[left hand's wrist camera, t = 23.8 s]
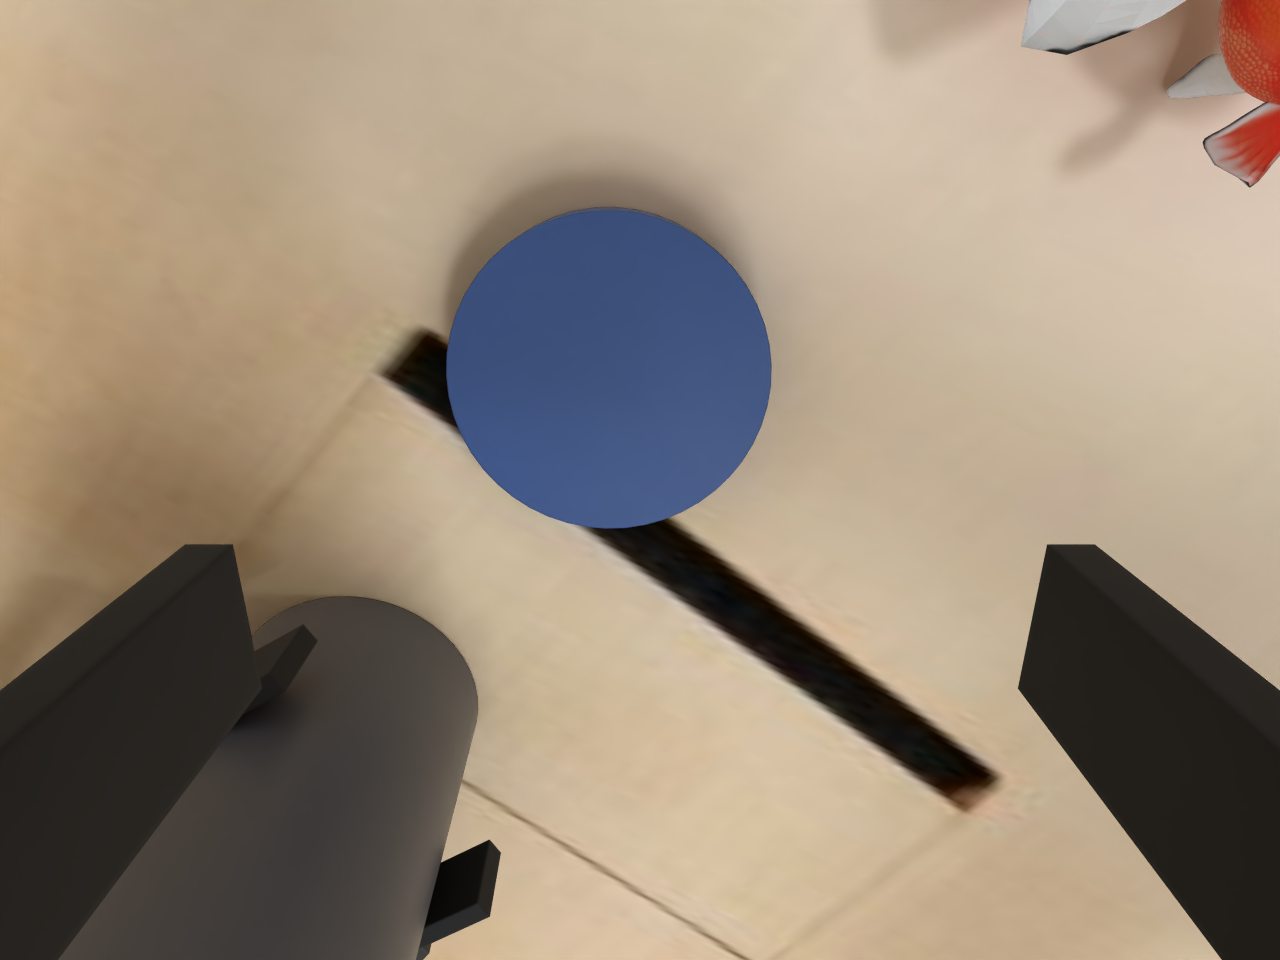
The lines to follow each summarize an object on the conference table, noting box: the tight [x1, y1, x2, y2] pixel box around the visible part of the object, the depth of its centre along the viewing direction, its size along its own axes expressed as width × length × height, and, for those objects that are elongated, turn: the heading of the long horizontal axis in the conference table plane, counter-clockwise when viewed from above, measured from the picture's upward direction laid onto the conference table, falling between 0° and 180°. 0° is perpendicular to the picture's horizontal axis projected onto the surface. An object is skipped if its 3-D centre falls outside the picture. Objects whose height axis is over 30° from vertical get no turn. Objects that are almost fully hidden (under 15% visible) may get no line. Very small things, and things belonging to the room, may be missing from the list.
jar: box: [58, 597, 478, 960], centre depth 24 cm, size 10×10×20 cm
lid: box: [446, 207, 771, 528], centre depth 27 cm, size 11×11×2 cm
